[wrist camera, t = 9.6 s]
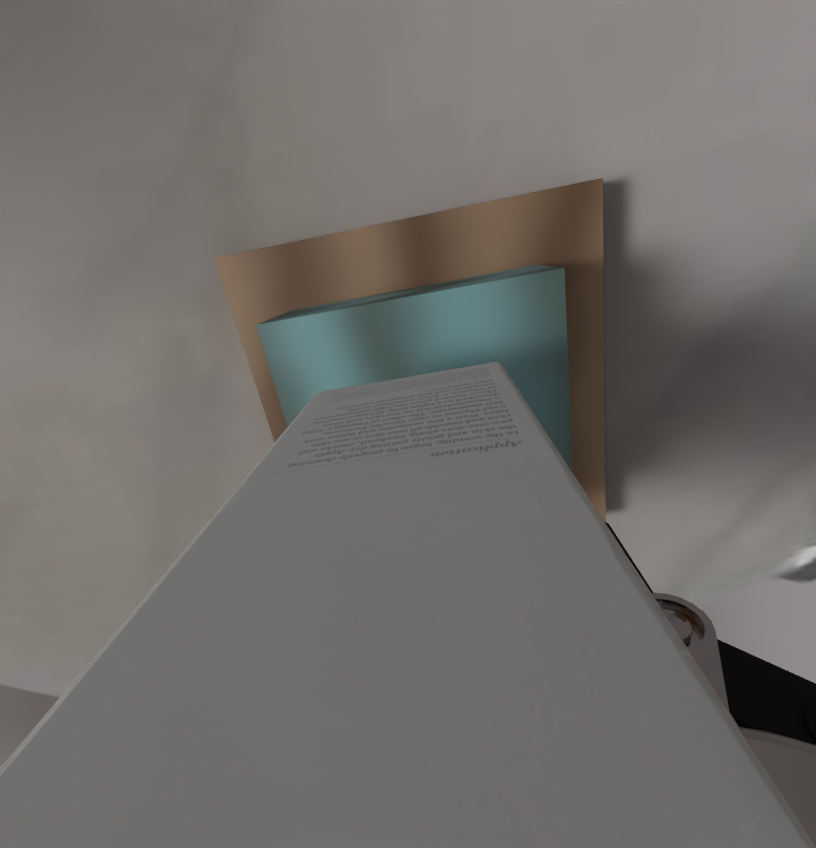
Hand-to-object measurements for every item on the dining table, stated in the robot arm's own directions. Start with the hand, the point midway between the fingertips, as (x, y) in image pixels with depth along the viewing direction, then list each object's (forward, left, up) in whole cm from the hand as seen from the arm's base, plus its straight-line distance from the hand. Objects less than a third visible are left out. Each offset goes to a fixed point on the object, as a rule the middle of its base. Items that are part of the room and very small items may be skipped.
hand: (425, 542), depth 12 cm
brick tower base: (0, 0, -13) cm, 13 cm away
